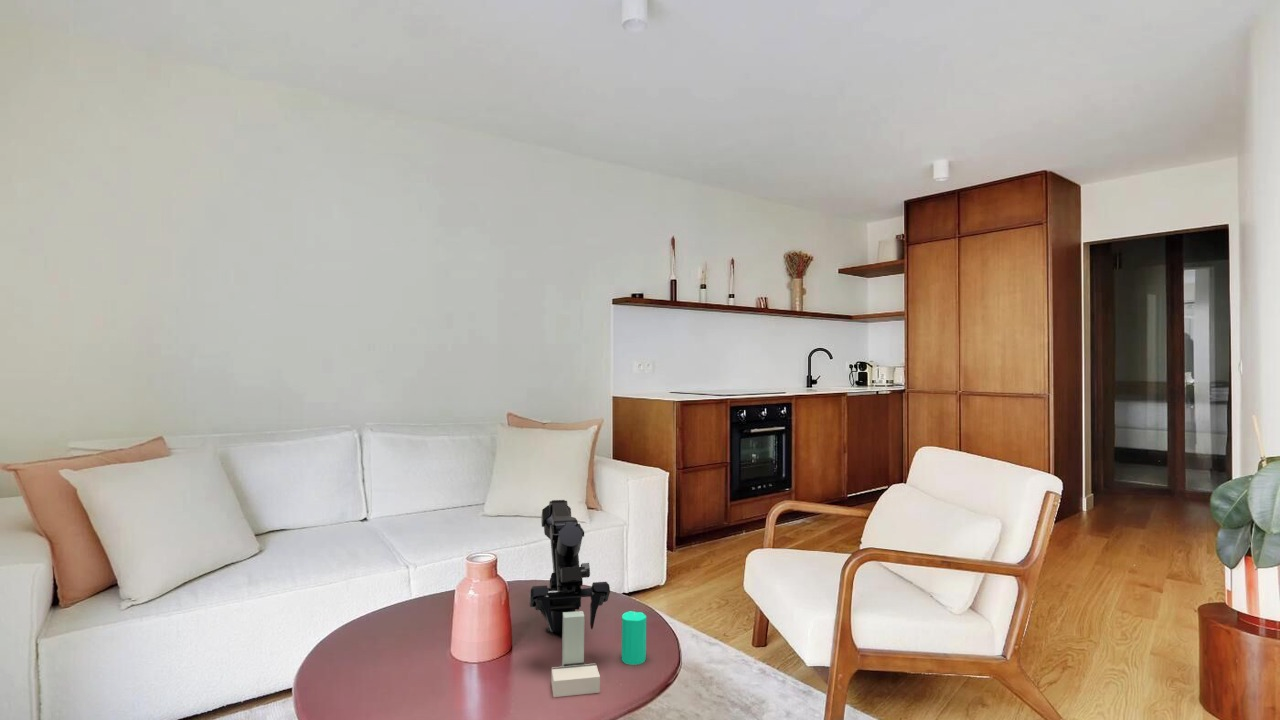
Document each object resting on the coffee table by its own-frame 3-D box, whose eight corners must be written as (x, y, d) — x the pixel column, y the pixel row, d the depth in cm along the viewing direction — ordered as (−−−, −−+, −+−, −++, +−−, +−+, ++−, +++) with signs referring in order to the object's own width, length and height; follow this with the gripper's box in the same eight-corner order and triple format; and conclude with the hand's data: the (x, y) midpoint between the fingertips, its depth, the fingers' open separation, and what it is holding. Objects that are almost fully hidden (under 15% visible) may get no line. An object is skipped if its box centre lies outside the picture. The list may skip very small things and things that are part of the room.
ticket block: (551, 683, 145) (551, 667, 145) (595, 678, 147) (595, 663, 147) (553, 697, 139) (553, 680, 139) (599, 692, 141) (600, 676, 141)
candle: (643, 666, 153) (644, 615, 153) (618, 663, 154) (619, 613, 154) (648, 654, 159) (648, 606, 159) (624, 651, 160) (625, 603, 160)
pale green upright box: (561, 672, 149) (562, 612, 148) (581, 670, 150) (582, 610, 149) (563, 679, 146) (564, 617, 145) (583, 677, 147) (584, 616, 146)
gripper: (530, 552, 152) (532, 618, 142) (609, 548, 156) (616, 612, 146) (528, 574, 160) (530, 638, 150) (603, 570, 164) (610, 632, 154)
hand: (572, 630), depth 149 cm, fingers open, 9 cm apart
